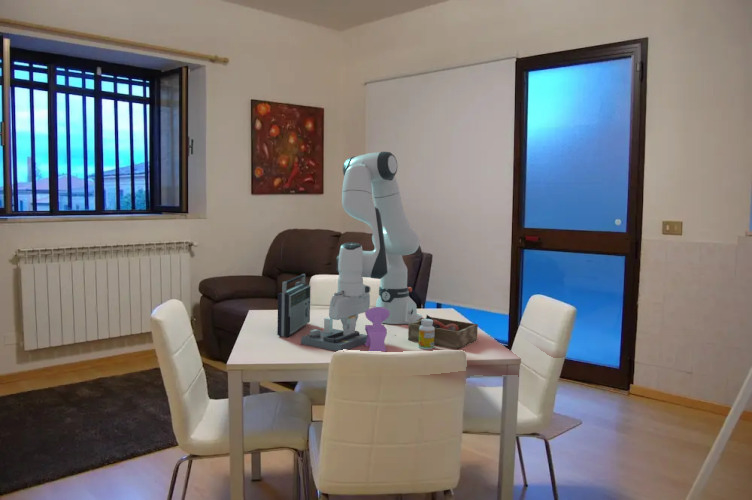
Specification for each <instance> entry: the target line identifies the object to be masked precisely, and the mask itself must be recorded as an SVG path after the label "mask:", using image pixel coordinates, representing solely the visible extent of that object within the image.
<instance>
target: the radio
mask: <svg viewBox="0 0 752 500" xmlns="http://www.w3.org/2000/svg"><path fill="white" fill-rule="evenodd" d="M297 280H300V281H297ZM295 281H297V282H295ZM292 282H295V286H293V287H289V288H287V285H288V284H291V283H292ZM281 284H282V286H281V287H282V288H281V289H282V290H281V291H282V292H280V293H278V294H277V327H276V329H277V331H276V332H277V334H276V335H277V336H278V337H282V338H283V337H284V338H285V337H286V338H287V337H289V336H291V335H292V334H295V332H297V331H298V330H300V329H301V328H303V327H304V326H306V325H307V324H309V323H310V321H311V285H309V284H307V283H306V273H302V274H301V275H298V276H296V277H293V278H291V279H288V280H285V281H282V283H281Z"/></svg>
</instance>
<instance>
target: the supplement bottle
mask: <svg viewBox="0 0 752 500" xmlns="http://www.w3.org/2000/svg"><path fill="white" fill-rule="evenodd" d="M421 319H422V321H421V324H422V325H421V326H420V327H419V342H418V348H419V349H421V350H433V349H434V348H435V345H434V335H435V328H434V327H433V326H432V325H433V320H431V319H424V318H421Z"/></svg>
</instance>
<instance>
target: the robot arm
mask: <svg viewBox="0 0 752 500" xmlns="http://www.w3.org/2000/svg"><path fill="white" fill-rule="evenodd" d="M397 172H398V161H397V157H396V156H395V155H394V154H393V153H392V152H390V151H381V152H379V151H378V152H368V153H365V154H360V155H357V156H351V157H349V158H347V159H346V160H345V161H344V163H343V165H342V173H343V176H344V177H343V181H342V188H341V189H342V190H341V207H342V209H343V211H344V213H346V214H347V215H348V216H350V217H351V218H353V219H355V220H358V221H360V222H361V223H365V224H366V225H368V226H369V227H370V229H371V231H372V235H371V240H372V244H373V245H374V249H373V250H363V246H362V244H360V243H358V242H344V243H343V244H341V245H340V248H339V253H338V255H337V256H336V271H337V273H338V278H337V292H334V293H333V295H332V297H331V300H330V302H329V310H328V318H330V319H333V321H339V320H340V322H341V324H342V330H343V329H344V330H347V329H349V324H348V323H347V320H348V317H350V316H356V321H355V328H356V326H357V321H358V318H359V315H360V314H361V315H362V314H365V312H366V311H367V310H368V309H370V303H371V295H370V293H371V286H369V285H366V284H364V280H363V279H364V278H370V279H378V280H379V281H380V285H379V286H378V287H379V288H378V295H379V297H378V298H377V299H376V302H375V303H376V304H375V307H383V308H386V309H387V310H389V313H390V314H389V317H388V318H387V319H386V320H384V321H383V322H382V324H389V325H404V324H405V325H409V324H410V323H413V322H416V321H419V320H421V319H423V315H422V314H419V313H418V308H417V303H416V302H415V301H414V300H413V299H412V298H411V297H410V293H412V291H413V288H412V287H411V286H408V270H409V269H408V267H407V265H406V263H405V261H404V259H403V256H407V255H412V254H414V253H416V251H418V249H419V247H420V236H419V235H418V234H417V233H416V231H415V230H414V229H413V227H412V226H411V224H410V222H409V220H408V217H407V216H406V213H405V211H404V207H403V202H402V197H401V193H400V188H399V184H398V183H399V182H398V179H397V177H396V175H397Z"/></svg>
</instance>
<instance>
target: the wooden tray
mask: <svg viewBox="0 0 752 500" xmlns="http://www.w3.org/2000/svg"><path fill="white" fill-rule="evenodd" d="M430 317H431V318H433V319H435V320H437V321H439V322H441V323H442V324H444V325H445V326H446V325H448V324H451V323H453V324H456V325H458V324H459V323H462V325H461V326H460V327H459V331H453V330H447V329H441V328H435V327H434V328H435V335H434V346H436V347H437V346H439V347H443V348H451V349H455V350H460V349H462V348H465V347H466V346H468V345H467V344H469V343H471V344H473V343H474V341H475V342H476V340H477V341H478V327H479V326H478V323H473V322H464V321H459V320H453V319H446V318H440V317H432V316H430ZM422 319H426V317H425V318H421V319H419V320H418V321H416V322H413V323H410V324H408V332H407V333H408V335H407V337H408V338H407V340H408V341H411V342H417V343H419V327H420V326H421V325H422V324H421V321H422ZM472 342H473V343H472ZM465 345H466V346H465ZM469 345H470V344H469Z"/></svg>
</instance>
